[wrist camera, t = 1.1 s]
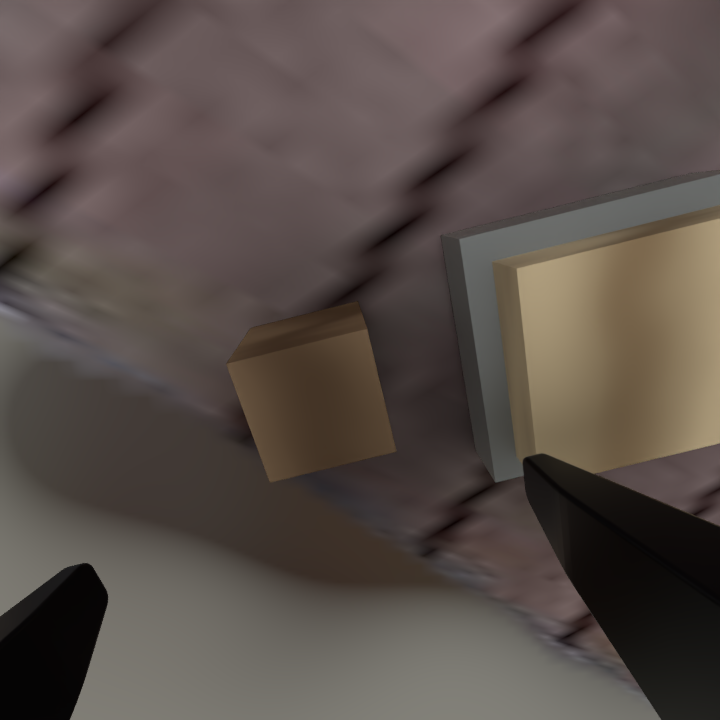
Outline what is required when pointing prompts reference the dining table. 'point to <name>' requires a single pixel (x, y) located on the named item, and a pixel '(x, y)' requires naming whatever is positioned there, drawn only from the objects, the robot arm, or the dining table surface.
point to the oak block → (615, 343)
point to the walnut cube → (312, 392)
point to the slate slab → (522, 235)
